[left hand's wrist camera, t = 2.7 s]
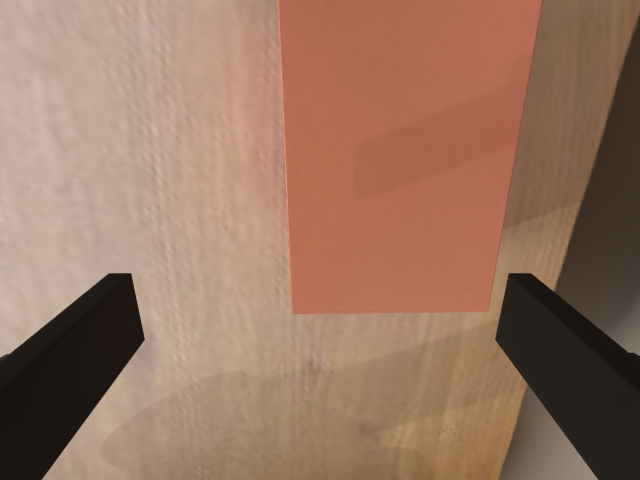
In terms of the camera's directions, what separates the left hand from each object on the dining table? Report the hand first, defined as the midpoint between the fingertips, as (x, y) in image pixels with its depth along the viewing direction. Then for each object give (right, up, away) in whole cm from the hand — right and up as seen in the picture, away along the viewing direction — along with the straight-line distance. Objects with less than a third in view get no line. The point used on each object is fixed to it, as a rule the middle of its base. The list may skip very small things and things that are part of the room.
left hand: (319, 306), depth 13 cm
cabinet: (+4, +9, +13) cm, 17 cm away
